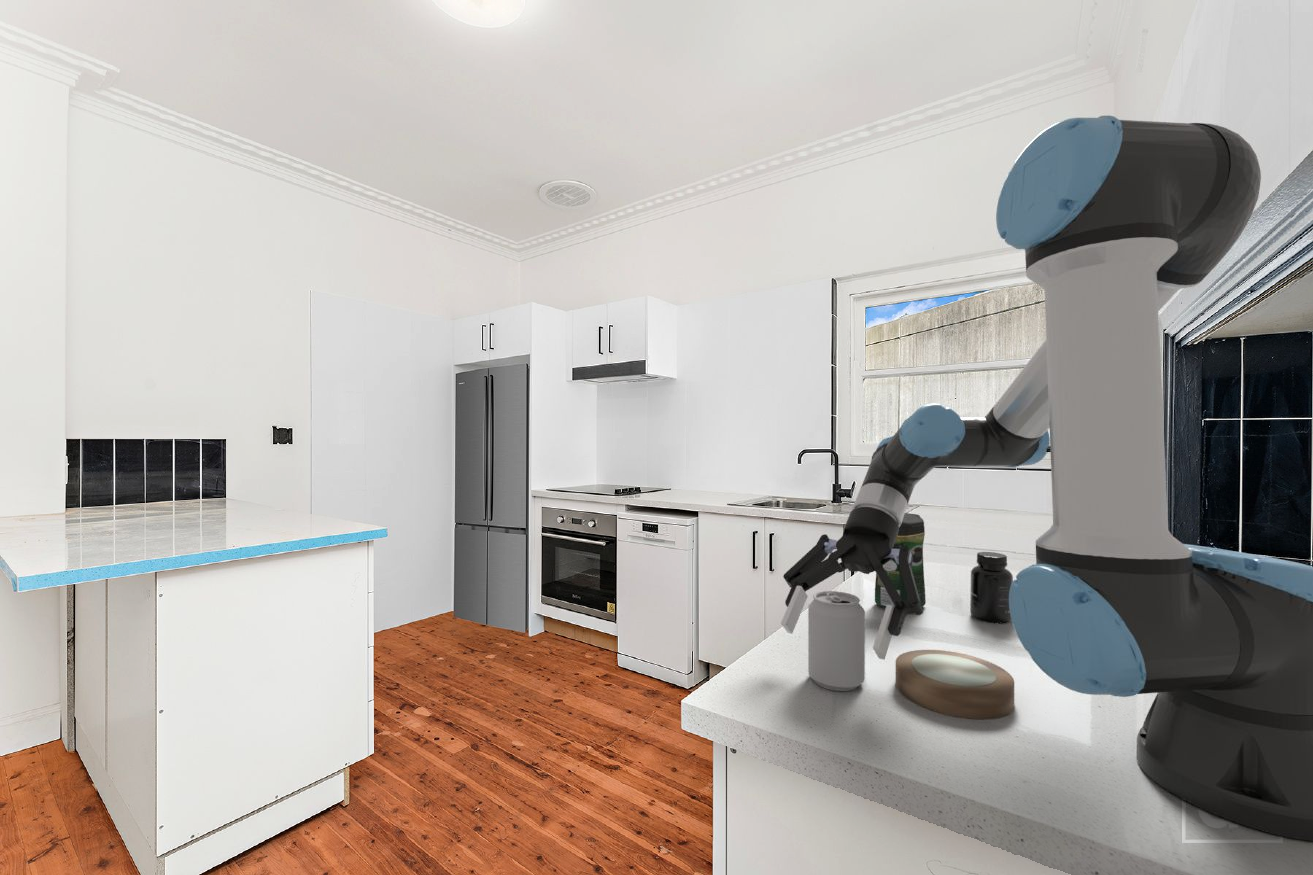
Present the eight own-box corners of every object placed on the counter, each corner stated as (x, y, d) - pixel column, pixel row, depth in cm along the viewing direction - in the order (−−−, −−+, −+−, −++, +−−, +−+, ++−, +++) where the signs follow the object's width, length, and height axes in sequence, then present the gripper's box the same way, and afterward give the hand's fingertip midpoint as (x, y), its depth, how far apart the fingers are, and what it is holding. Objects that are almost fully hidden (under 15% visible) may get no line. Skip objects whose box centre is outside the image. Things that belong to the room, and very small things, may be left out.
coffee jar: (895, 597, 119) (896, 509, 118) (932, 606, 112) (932, 513, 112) (866, 605, 113) (867, 512, 113) (902, 615, 107) (903, 517, 106)
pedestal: (1041, 715, 69) (1041, 689, 69) (934, 722, 68) (934, 696, 68) (966, 667, 83) (966, 646, 83) (876, 672, 82) (876, 650, 82)
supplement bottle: (961, 615, 107) (962, 552, 107) (985, 610, 110) (986, 548, 109) (997, 626, 101) (997, 559, 100) (1021, 621, 103) (1021, 556, 103)
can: (827, 696, 74) (827, 606, 74) (798, 673, 81) (798, 590, 81) (876, 689, 76) (876, 601, 76) (843, 667, 83) (843, 586, 83)
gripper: (967, 544, 82) (931, 680, 71) (811, 525, 99) (763, 632, 89) (956, 512, 78) (916, 651, 67) (795, 497, 95) (744, 606, 85)
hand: (829, 640), depth 78 cm, fingers open, 13 cm apart
